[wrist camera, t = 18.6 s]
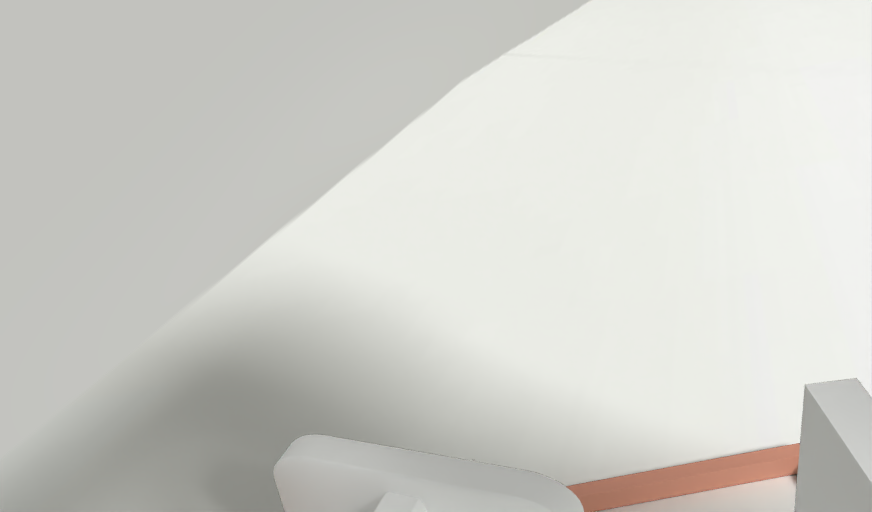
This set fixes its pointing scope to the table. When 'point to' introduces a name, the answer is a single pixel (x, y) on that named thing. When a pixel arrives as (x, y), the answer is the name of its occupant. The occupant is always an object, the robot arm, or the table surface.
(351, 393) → the table surface
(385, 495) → the cable organizer
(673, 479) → the divided tray
